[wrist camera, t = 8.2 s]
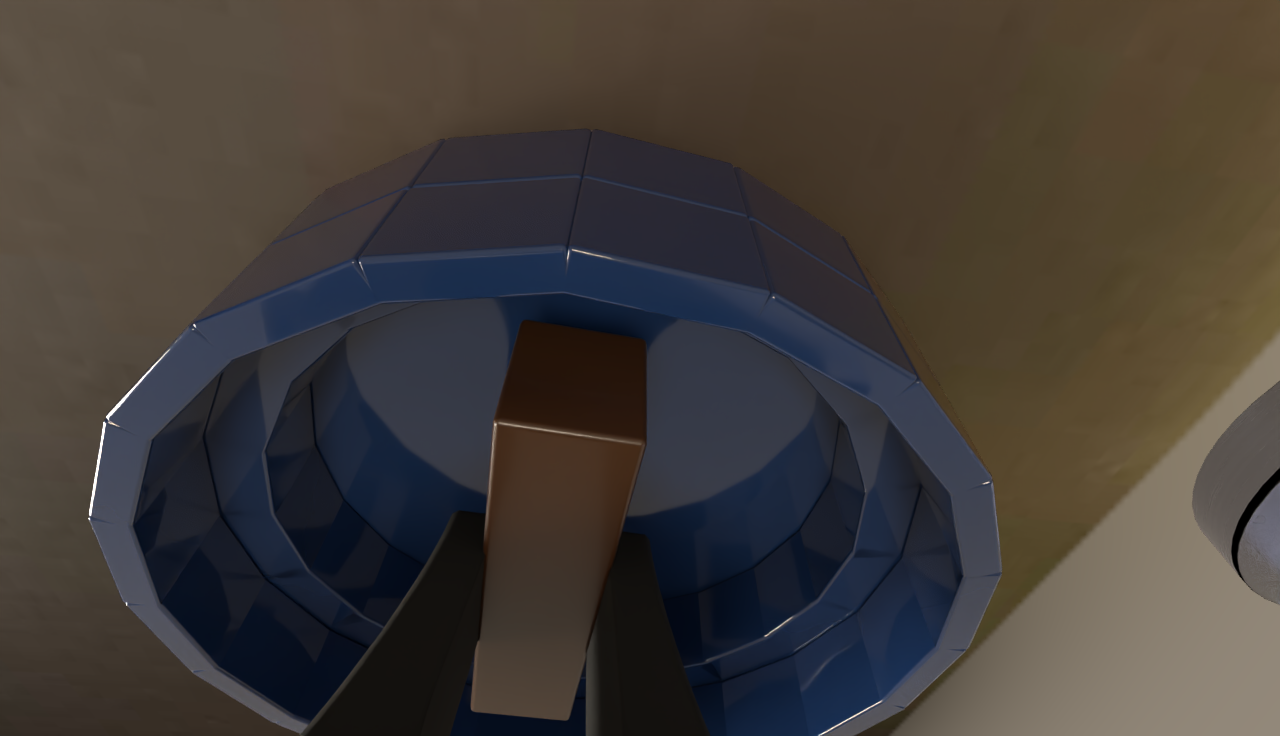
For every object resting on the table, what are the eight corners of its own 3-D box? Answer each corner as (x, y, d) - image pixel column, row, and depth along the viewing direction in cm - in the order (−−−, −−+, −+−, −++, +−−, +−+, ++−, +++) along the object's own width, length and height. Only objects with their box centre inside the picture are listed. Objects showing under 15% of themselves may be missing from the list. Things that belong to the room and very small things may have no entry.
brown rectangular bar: (578, 614, 15) (568, 722, 13) (491, 604, 15) (469, 713, 13) (647, 336, 10) (648, 444, 8) (520, 316, 10) (491, 420, 8)
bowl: (941, 553, 17) (1021, 735, 13) (471, 655, 20) (433, 823, 17) (827, -41, 9) (948, 18, 5) (80, 289, 12) (-153, 462, 9)
